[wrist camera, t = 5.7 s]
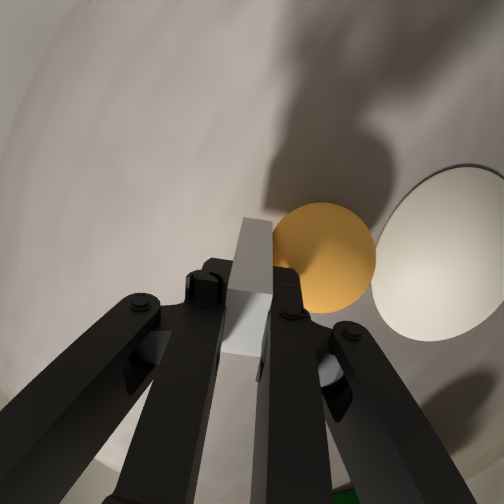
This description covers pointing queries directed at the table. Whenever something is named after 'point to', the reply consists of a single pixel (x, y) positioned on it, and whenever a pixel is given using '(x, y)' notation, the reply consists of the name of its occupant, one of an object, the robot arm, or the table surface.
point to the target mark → (442, 256)
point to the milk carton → (346, 497)
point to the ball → (326, 254)
